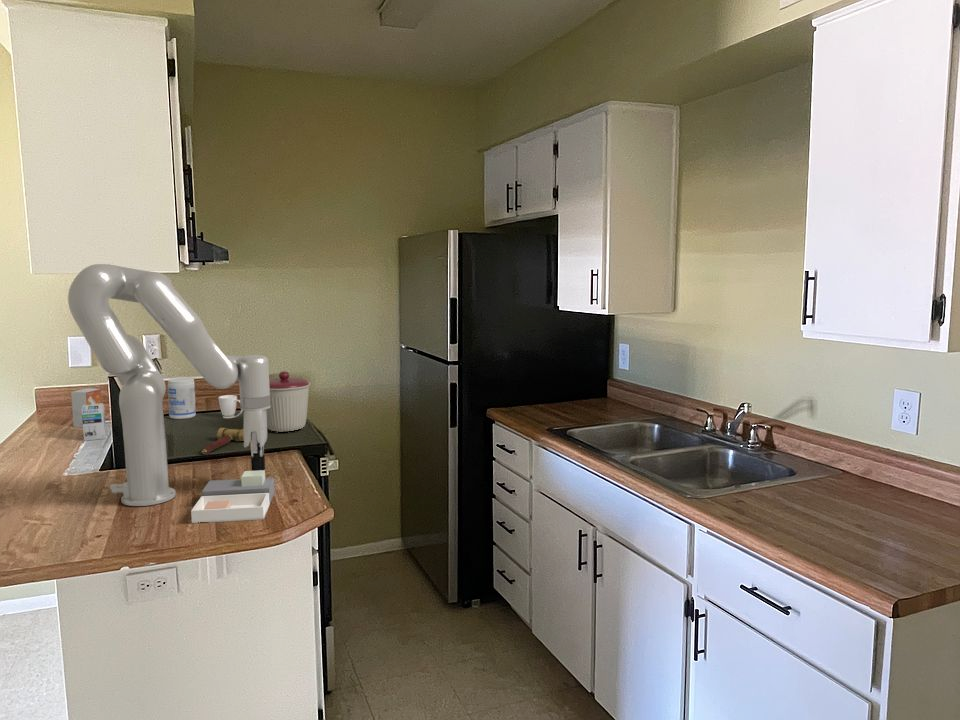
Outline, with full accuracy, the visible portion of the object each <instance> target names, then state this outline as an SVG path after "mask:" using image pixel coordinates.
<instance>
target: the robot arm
mask: <svg viewBox="0 0 960 720" xmlns="http://www.w3.org/2000/svg"><path fill="white" fill-rule="evenodd" d="M68 290H69V291H68V294H67V298H68V299H67V302H68V307H69V311H70V313H71V315H72V318H73V320H74V322H75V323H76V324H77V326H78V329H79V330H80V332H81V333H82V335H83V337H84V339H85V341H86V342H87V344H88V345H89V347H90V349H91V351H92V352H93V354H94V356H95V357H96V359H97V361H98V363H99V365H100V366H101V368H102V369H103V370H104V371H105V372H106V373H108V374H110V375H113V376H115V377H116V379H117V380H118V382H119V383H120V385H121V389H120V391H119V395H118V398H119V399H118V405H119V406H118V407H119V411H120V417H121V424H122V436H123V447H124V459H125V460H124V461H125V472H126V473H125V474H126V481H125V482H123V483H111V484H110V486H109V491H110V492H111V494H112V495H113V494H122V496H121V498H120V499H121V500H120V501H121V503H122V504H123V505H125V506H128V507H129V506H130V507H147V506H154V505H155V506H156V505H158V504H162V503H165V502H169V501H171V500H172V499H174V498H175V497H176V496H177V492H176V489H175V488H173V487H170V485H169V471H168V470H169V469H168V456H167V455H168V454H167V442H166V427H165V416H164V408H163V407H164V406H163V403H164V402H163V399H164V397H165V394H166V391H167V390H166V389H167V388H166V383H165V379H164V378H163V376H162V375H161V372H160V370H158V367H157V366H156V365H155V362H154V361H153V359H152V357H151V356H150V354H149V352H148V351H147V349H146V348H145V346H144V344H142V342H141V341H140V340H139V339H138V338H136V337H135V336H133V335H131V334H127V332H126V330H125V329H124V327H123V326H122V324H121V322H120V320H119V318H118V316H117V315H116V314H115V312H114V311H113V310H112V308H111V306H110V299H114V300H118V301H119V300H121V301H125V302H131V303H138V304H140V306H142V308H143V309H144V310H145V311H146V312H147V313H148V314H149V315H150V316H151V317H152V318H153V320H154V321H155V322H156V323H157V324H158V326H159V327H160V328H161V329H162V330H163V331H164V333H166V334H167V336H168V337H169V338H170V339H171V341H172V342H173V343H174V344H175V346H176V347H177V348H178V349H179V350H180V352H181V353H182V354H183V355H184V357H185V358H186V359H187V361H188V362H189V363H190V364H191V366H193V368H194V369H195V370H196V371H197V372H198V373H199V374H200V376H201V377H202V378H203V379H204V380H205V381H206V382H207V383H208V384H209V386H211V387H213V388H216V389H218V390H225V389H229V388H231V387H232V386H233V385H234V384H235V383H236V382H238V385H239V386H238V387H239V389H238V390H239V400H240V403H239V407H240V411H241V410H243V421H242V422H243V428H242V429H244V442H243V448H245V449H247V448H248V447H249V446H250V453H251V456H250V460H251V461H250V462H251V463H250V464H251V465H250V466H251V471H258V470H265V471H266V461H265V456H266V455H265V445H266V444H265V443H266V442H267V441H268V428H267V412H266V409H268V408H270V386H269V380H270V370H269V369H270V368H269V366H270V365H269V359H268V357H266V356H265V355H262V354H249V355H244V356H241V355H229V354H225V353H224V352H223V351H222V350H221V348H219V346H218V345H217V343H215V341H214V340H213V339H212V337H211V336H210V334H209V333H208V331H207V329H206V327H205V324H204V323H203V321H202V320H201V318H200V316H198V314H197V313H196V312H195V311H194V310H193V308H192V307H191V306H190V305H189V303H187V302H186V300H185V299H183V297H182V296H181V295H180V293H179V292H178V291H177V290H176V289H175V288H174V286H173V283H172V281H171V279H170V278H169V277H168V276H167V275H165V274H163V273H161V272H158V271H150V270H142V269H137V268H132V267H131V268H130V267H125V266H120V265H115V264H110V263H109V264H108V263H96V264H91V265H89V266H87V267H86V266H85V268H83V269H82V270H80V271H79V273H78V274H77V275H76V276H75V278H74V279H73V281H72V282H71V284H70V287H69V289H68Z"/></svg>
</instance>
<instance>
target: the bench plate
mask: <svg viewBox="0 0 960 720" xmlns="http://www.w3.org/2000/svg"><path fill="white" fill-rule="evenodd" d="M275 488H276V487H275V477H274V476H273V477H265V481H264V483H263V485H262V486H243V487H242V481H241V478H237V479H215V480H209V481H208V482H207V484H206V485H205V487H204V488H203V489H202V491H201V496H218V495H238V494H257V493H269V500H270V504H271V502H272V501H273V498H274V495H275V490H276V489H275Z"/></svg>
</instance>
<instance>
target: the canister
mask: <svg viewBox="0 0 960 720" xmlns="http://www.w3.org/2000/svg"><path fill="white" fill-rule="evenodd" d="M269 386H270V408H268V409H266V412H267V430H269V431H270V430H271V431H270V432H272V431H277V432H276V433H278V431H279V432H283V431H294V430H298V429H301V428H302V429H304V428H305V426H306V424H307V423H306V422H307V416H308V415H307V414H308V406H309V391H310V390H309V389H310V386H311V382H309V381H308V380H306V379H304V378H299V377H290V373H289V372H288V371H284V370H283V371H281V372H279V374H278V378H276V377H275V378H271V379H270V378H269ZM303 427H304V428H303ZM302 429H301V430H302Z"/></svg>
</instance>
